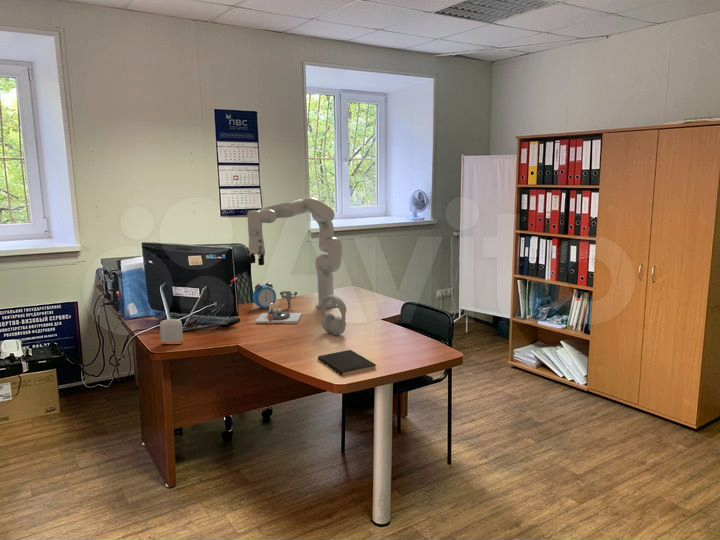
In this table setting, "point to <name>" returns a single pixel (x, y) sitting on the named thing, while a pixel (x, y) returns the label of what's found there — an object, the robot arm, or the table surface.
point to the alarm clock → (264, 295)
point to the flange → (277, 313)
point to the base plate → (292, 319)
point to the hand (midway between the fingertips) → (257, 264)
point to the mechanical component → (288, 296)
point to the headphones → (329, 320)
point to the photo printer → (171, 330)
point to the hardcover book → (347, 362)
